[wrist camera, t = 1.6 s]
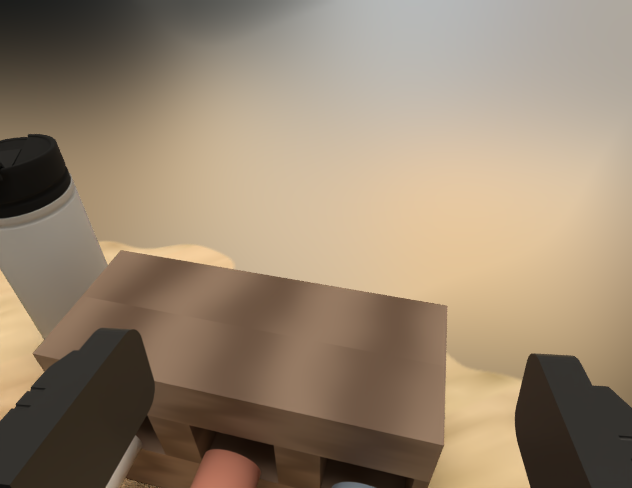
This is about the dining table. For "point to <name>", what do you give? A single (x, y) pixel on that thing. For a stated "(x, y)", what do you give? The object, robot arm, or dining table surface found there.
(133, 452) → the white key
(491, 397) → the dining table surface
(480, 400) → the dining table surface
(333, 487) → the blue key
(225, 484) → the red key
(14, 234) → the travel mug
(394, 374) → the box
